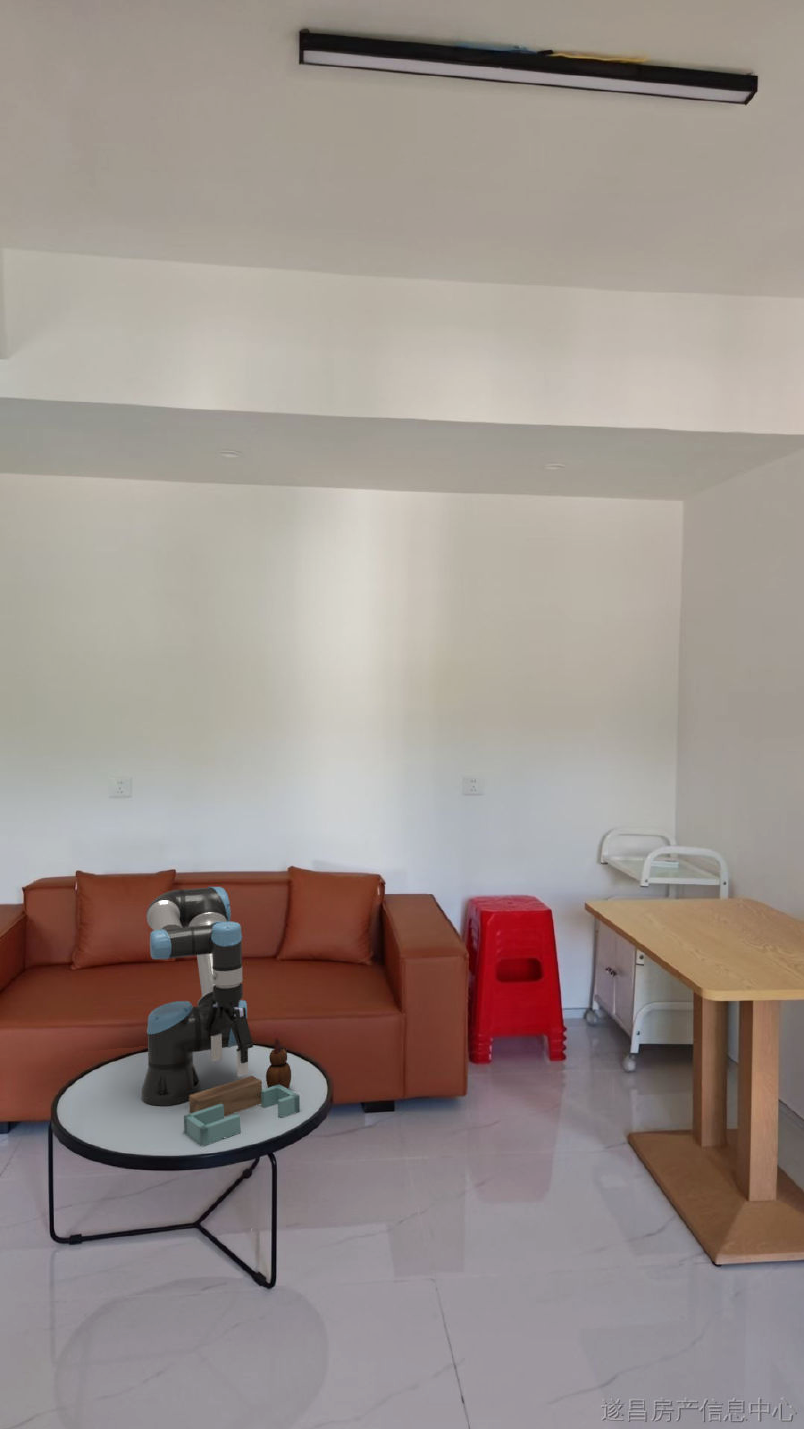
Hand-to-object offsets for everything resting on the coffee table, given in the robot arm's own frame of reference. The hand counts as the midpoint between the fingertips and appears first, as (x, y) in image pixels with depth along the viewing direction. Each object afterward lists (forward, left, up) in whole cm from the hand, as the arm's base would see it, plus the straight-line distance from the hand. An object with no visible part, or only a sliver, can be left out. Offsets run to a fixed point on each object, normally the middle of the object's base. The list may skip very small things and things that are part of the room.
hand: (229, 1067), depth 220 cm
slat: (0, -1, -11) cm, 11 cm away
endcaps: (+8, -1, -11) cm, 14 cm away
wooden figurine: (-1, +15, -11) cm, 19 cm away
